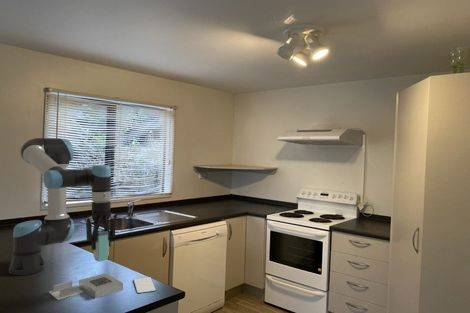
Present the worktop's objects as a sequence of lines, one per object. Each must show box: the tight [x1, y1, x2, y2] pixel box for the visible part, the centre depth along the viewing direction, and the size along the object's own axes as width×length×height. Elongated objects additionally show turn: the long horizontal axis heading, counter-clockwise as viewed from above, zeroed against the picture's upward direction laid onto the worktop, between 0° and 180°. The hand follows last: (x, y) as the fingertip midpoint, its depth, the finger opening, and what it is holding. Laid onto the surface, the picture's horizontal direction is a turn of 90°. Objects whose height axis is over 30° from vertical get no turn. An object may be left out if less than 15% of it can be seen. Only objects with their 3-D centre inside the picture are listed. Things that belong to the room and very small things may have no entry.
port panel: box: [78, 273, 124, 299], centre depth 147 cm, size 16×12×3 cm
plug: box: [94, 229, 109, 262], centre depth 146 cm, size 4×4×12 cm
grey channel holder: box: [48, 280, 84, 301], centre depth 142 cm, size 10×10×3 cm
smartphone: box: [133, 276, 157, 295], centre depth 151 cm, size 8×1×16 cm
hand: (101, 255), depth 146 cm, fingers closed on plug, 4 cm apart
